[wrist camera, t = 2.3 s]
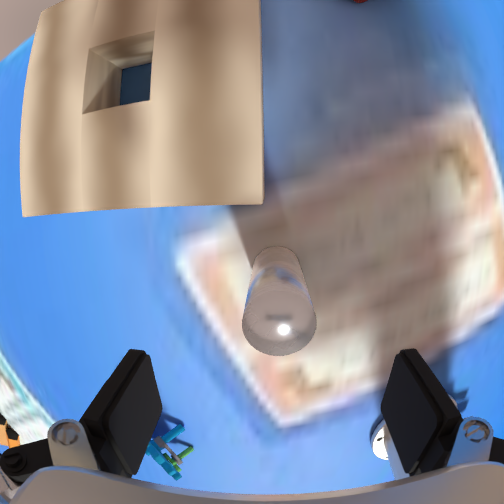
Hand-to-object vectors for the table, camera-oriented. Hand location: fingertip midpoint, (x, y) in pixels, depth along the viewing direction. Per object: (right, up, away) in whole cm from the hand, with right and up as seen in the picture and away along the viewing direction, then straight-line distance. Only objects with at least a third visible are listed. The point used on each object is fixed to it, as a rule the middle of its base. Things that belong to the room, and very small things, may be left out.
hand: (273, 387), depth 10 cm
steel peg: (+1, +3, +15) cm, 16 cm away
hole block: (-10, +19, +12) cm, 25 cm away
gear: (-12, -18, +22) cm, 31 cm away
